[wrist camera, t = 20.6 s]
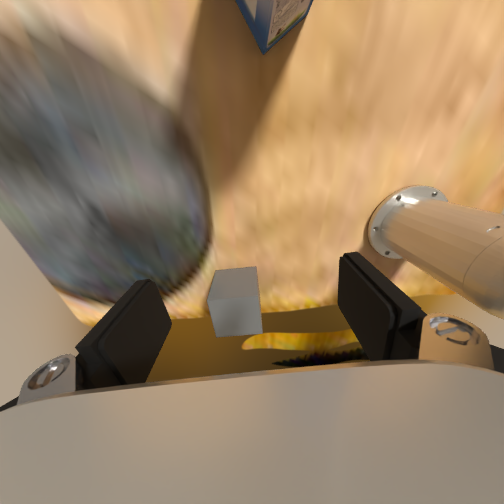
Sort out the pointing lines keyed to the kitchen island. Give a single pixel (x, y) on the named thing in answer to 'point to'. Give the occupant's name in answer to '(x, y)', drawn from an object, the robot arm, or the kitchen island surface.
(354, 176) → the kitchen island surface
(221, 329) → the gray cube
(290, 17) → the milk carton
